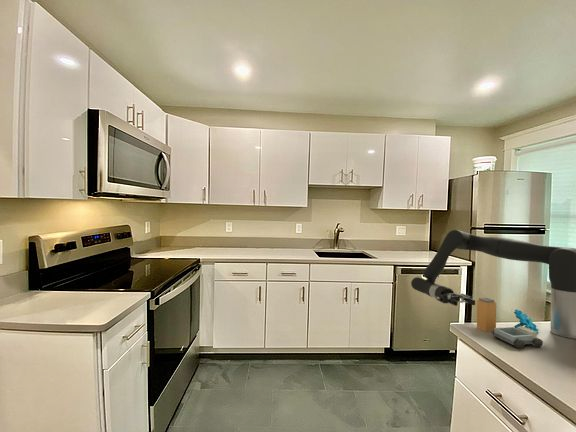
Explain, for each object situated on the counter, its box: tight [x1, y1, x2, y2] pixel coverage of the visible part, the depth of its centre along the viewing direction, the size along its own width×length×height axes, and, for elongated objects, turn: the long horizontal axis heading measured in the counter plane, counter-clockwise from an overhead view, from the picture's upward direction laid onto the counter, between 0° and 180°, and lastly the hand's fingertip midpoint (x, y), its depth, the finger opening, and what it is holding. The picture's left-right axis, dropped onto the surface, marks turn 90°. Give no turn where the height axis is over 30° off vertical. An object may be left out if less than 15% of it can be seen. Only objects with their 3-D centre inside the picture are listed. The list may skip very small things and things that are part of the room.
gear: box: [513, 309, 539, 334], centre depth 117 cm, size 11×6×10 cm
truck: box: [491, 326, 544, 350], centre depth 105 cm, size 11×10×4 cm
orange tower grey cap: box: [476, 297, 497, 333], centre depth 117 cm, size 4×4×12 cm
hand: (465, 303), depth 128 cm, fingers open, 8 cm apart
